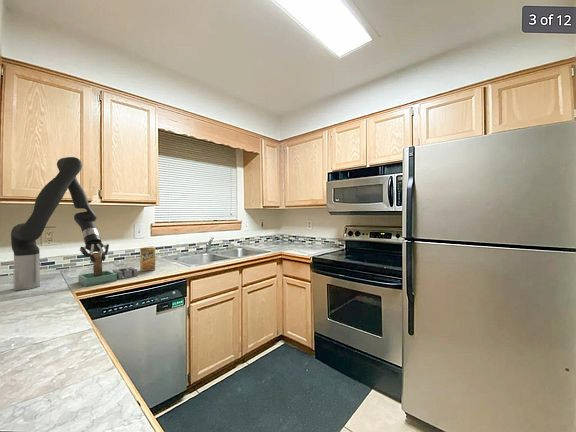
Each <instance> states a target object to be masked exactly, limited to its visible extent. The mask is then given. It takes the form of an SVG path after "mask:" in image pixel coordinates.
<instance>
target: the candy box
mask: <svg viewBox="0 0 576 432" xmlns="http://www.w3.org/2000/svg"><path fill="white" fill-rule="evenodd" d="M139 249H140V251H139V252H140V253H139V255H140V257H139V258H140V259H139V262H140V263H139V264H140V267H139V269H140V272H144V271H156V246H148V247H147V246H146V247H144V246H143V247H140V248H139Z"/></svg>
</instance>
